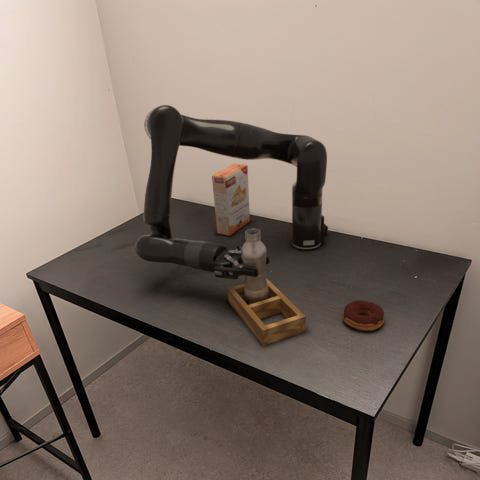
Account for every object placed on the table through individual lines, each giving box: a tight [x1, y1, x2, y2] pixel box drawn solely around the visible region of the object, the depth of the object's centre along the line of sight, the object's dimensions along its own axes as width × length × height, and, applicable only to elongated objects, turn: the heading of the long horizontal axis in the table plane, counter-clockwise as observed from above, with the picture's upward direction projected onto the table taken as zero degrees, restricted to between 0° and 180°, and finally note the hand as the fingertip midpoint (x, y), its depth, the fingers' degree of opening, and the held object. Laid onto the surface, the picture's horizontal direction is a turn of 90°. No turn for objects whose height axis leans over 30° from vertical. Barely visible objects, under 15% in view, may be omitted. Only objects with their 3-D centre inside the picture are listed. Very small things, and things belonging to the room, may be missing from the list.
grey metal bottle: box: [241, 227, 269, 305], centre depth 114 cm, size 6×7×20 cm
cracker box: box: [211, 163, 251, 237], centre depth 157 cm, size 14×6×21 cm, turn 148°
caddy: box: [227, 277, 307, 346], centre depth 115 cm, size 11×21×4 cm, turn 24°
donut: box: [342, 300, 385, 332], centre depth 111 cm, size 10×10×4 cm
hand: (263, 266), depth 112 cm, fingers closed on grey metal bottle, 6 cm apart
